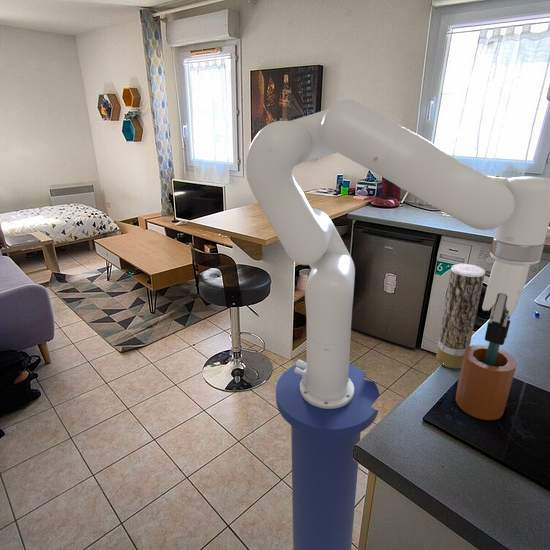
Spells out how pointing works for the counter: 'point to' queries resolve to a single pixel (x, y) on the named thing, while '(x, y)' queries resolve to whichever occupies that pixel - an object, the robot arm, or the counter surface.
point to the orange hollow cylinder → (484, 383)
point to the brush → (492, 354)
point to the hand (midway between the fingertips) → (495, 338)
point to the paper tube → (459, 313)
